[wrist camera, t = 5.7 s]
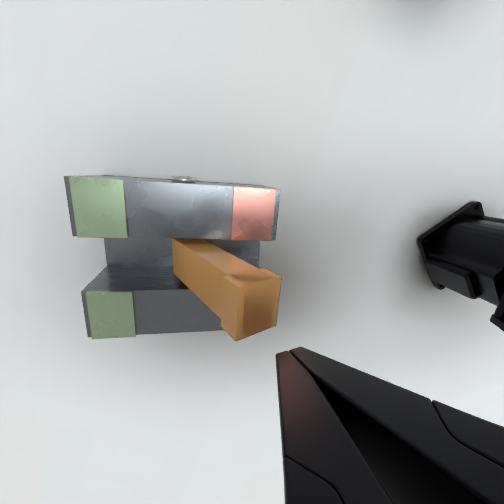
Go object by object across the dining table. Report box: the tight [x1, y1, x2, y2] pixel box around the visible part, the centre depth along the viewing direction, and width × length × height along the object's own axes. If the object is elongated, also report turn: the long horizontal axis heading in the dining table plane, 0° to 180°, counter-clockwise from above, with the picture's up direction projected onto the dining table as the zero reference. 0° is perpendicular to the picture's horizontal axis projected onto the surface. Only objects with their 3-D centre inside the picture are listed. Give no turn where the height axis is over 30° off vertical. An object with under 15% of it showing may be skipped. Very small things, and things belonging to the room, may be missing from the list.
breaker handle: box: [172, 238, 281, 341], centre depth 13 cm, size 2×2×8 cm
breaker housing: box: [64, 175, 280, 339], centre depth 17 cm, size 11×10×5 cm
